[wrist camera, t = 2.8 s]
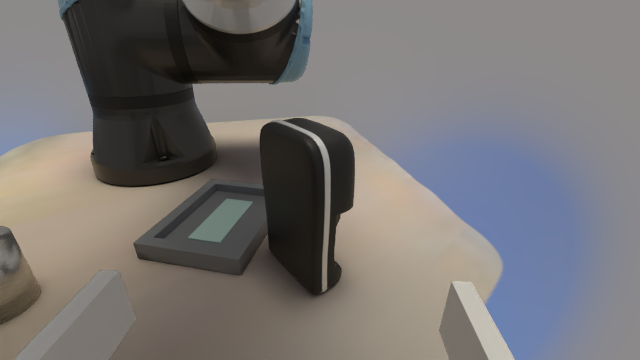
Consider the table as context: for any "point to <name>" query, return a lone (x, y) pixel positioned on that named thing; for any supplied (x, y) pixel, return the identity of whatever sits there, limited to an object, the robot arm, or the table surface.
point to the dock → (210, 229)
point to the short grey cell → (15, 279)
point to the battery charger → (306, 196)
